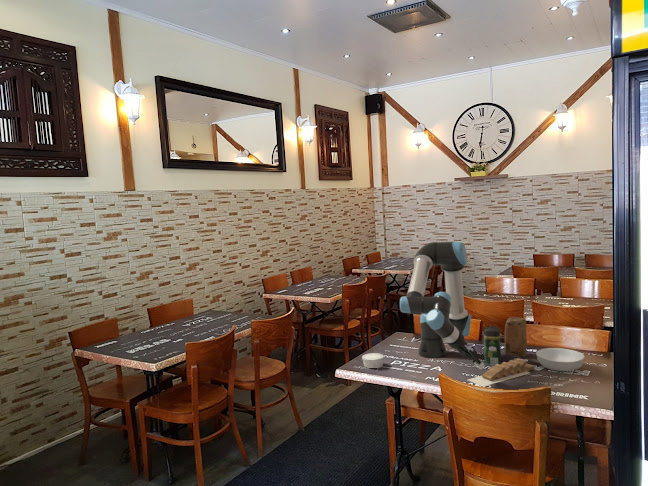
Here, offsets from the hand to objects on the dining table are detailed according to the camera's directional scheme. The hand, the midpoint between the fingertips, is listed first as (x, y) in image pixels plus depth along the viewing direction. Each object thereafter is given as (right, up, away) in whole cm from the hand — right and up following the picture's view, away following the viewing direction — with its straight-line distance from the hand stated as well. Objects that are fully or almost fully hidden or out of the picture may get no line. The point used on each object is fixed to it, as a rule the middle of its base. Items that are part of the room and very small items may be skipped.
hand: (482, 366), depth 217 cm
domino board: (+10, -7, +5) cm, 13 cm away
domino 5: (+19, -4, +10) cm, 21 cm away
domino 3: (+11, -5, +6) cm, 13 cm away
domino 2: (+7, -5, +4) cm, 9 cm away
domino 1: (+2, -6, +2) cm, 6 cm away
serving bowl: (+42, -5, +14) cm, 45 cm away
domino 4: (+15, -5, +8) cm, 17 cm away
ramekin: (-46, -8, +32) cm, 56 cm away
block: (+29, -4, +36) cm, 47 cm away
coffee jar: (+14, -5, +26) cm, 30 cm away
